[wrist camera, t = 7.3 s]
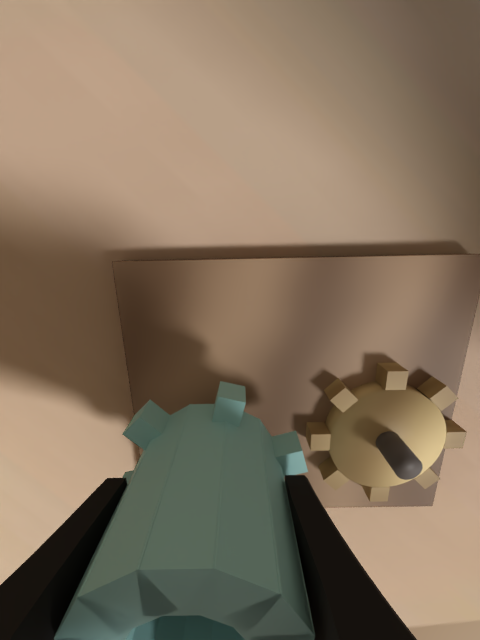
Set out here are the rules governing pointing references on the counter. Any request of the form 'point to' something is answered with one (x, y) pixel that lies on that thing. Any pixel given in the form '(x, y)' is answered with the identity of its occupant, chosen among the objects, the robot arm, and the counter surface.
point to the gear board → (314, 357)
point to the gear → (199, 534)
